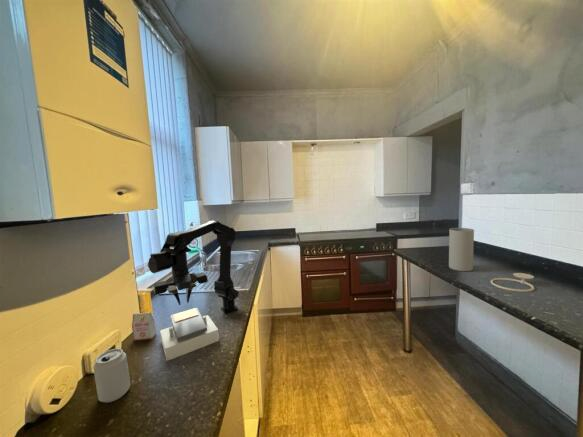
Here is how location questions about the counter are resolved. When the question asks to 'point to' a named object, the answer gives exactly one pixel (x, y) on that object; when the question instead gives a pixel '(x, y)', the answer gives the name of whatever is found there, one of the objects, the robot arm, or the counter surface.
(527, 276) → the hand towel holder
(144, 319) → the printed cardboard box
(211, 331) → the breaker housing
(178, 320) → the rocker switch
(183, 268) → the robot arm
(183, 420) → the counter surface
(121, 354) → the can
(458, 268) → the cylinder vase
